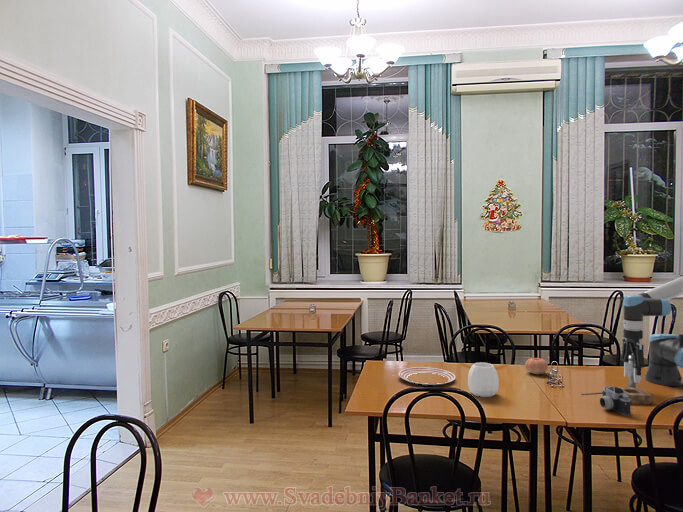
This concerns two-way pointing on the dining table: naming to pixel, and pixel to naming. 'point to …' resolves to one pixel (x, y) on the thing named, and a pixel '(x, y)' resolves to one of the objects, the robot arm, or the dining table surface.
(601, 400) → the camera
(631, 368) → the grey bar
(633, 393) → the brown square tray
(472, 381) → the cup
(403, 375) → the dinner plate
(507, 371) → the dining table surface
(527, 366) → the tomato
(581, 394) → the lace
